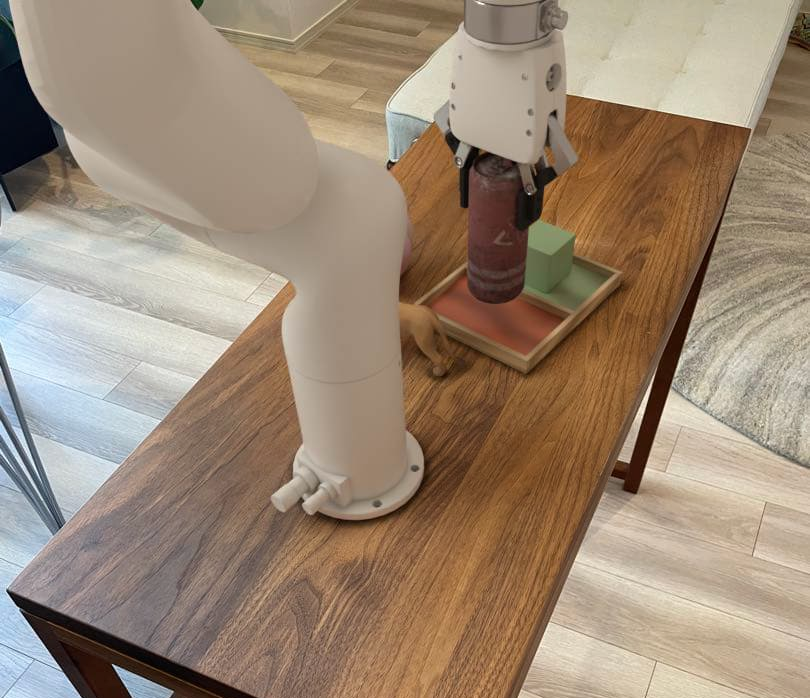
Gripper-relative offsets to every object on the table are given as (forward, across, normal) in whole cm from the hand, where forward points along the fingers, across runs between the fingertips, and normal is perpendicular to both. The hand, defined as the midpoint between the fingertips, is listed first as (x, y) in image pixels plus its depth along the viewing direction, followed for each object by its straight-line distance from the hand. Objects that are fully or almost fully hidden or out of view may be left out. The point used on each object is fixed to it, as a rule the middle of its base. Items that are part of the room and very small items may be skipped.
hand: (499, 211), depth 82 cm
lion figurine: (+14, +5, +11) cm, 18 cm away
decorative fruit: (+14, +15, +2) cm, 21 cm away
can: (+9, 0, 0) cm, 9 cm away
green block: (+13, 0, -9) cm, 16 cm away
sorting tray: (+14, 0, -4) cm, 14 cm away
